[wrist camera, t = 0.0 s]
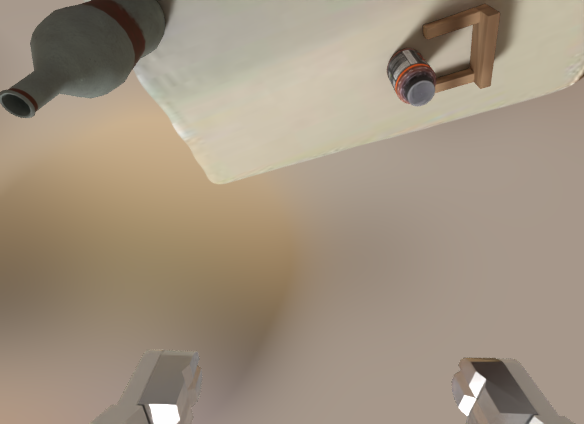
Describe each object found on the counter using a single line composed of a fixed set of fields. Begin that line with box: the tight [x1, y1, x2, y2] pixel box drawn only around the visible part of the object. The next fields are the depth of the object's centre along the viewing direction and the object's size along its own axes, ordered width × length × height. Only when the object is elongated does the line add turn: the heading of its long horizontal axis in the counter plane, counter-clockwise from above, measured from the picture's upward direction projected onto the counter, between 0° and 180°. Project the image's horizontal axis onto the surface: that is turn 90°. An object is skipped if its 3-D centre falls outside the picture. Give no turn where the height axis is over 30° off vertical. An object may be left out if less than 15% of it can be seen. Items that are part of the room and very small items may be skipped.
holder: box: [423, 4, 500, 93], centre depth 49 cm, size 9×11×5 cm
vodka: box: [0, 0, 165, 118], centre depth 37 cm, size 9×9×30 cm
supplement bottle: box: [387, 48, 436, 106], centre depth 48 cm, size 6×6×11 cm
